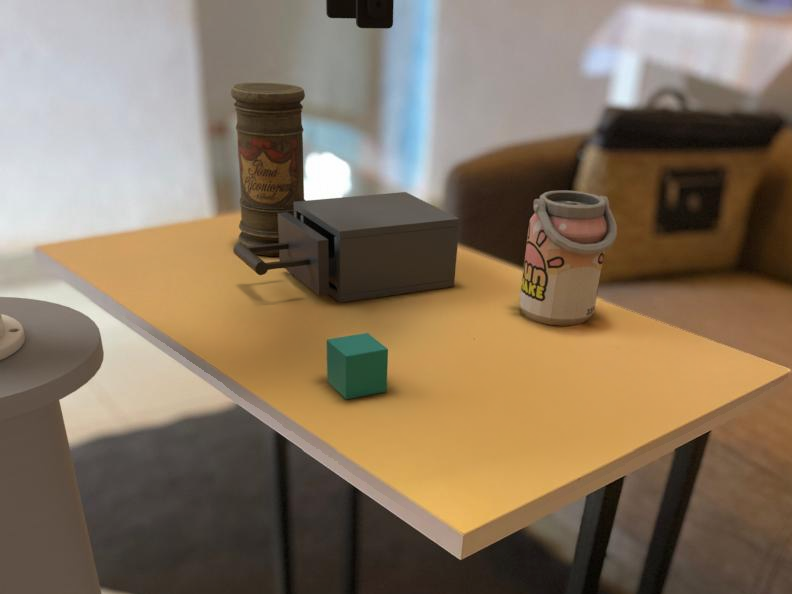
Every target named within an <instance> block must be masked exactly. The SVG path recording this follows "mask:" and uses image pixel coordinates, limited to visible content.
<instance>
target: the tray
mask: <svg viewBox="0 0 792 594" xmlns="http://www.w3.org/2000/svg"><path fill="white" fill-rule="evenodd" d="M278 233H279V243H276V244H267V245H258V246H248V247H246V246H244V245H243V244H241V243H239V242H238V243H235V244H234V246H233V254H234V255H235V256H236V257H238V259H240V260H241V261H242V262H243V263H244V264H246V266H247V267H249V268H250V269H251V270H252V271H253V272H255V273H256V274H257V275H259V276H263V275H265V274H267V273H268V271H269V270H278V269H285V270H286V271H288V272H289V273H290V274H291V275H292V276H293V277H295V278H296V279H298V280H299V281H300V282H302V284H304V285H305V286H306V287H307V288H308V289H310V290H311V291H312V292H314V293H315V294H316V295H318V296H326V295H330V294H329V282H330V283H332V284H333V285H334V286H336V287H337V237H336V236H334V235H333V234H331V233H330V232H328V231H327V230H325V229H324V228H322V227H321V226H319V225H318V224H316V223H315V222H313V221H311V220H310V219H308V218H307V217H305V216H304V215H302V214H301V221H300V220H298V219H297V218H295V217H294V216H292V215H291V214H289V213H288V212H283V213H278ZM274 250H279V255H280V256H279V260H278V261H269V262H265V261H264V260H263V259H262V258H260V257H259V256H258V254H254V253H256V252H265V251H274Z"/></svg>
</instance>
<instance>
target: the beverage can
mask: <svg viewBox="0 0 792 594" xmlns="http://www.w3.org/2000/svg"><path fill="white" fill-rule="evenodd" d="M608 198H609V197H607V196H606V195H596V194H594V193H590V192H584V191H579V190H578V191H577V190H565V189H564V190H550V191H546V192H544V193H542V194H540V195H539V198H535V199H534V200H533V205H532V206H533V211H534V213H533V215H532V216H531V217H530V219H529V222H528V230H527V237H526V245H525V246H526V247H525V254H524V262H523V271H522V277H521V286H520V293H519V301H518V302H519V303H518V304H519V305H518V306H519V308H520V310H521V311H522V312H523V314H524V315H525V316H526V317H527V318H529V319H530V320H532V321H535V322H537V323H541V324H545V325H550V326H559V327H560V326H562V327H563V326H566V327H567V326H576V325H580V324H582V323H584V322H586V321H587V320H588V319H590V317H591V316H592V315H593V314H594V312H595V311H596V310H595V309H596V305H597V298H598V292H599V286H600V282H601V275H602V270H603V265H604V259H605V253H606V251H607V250H609V249H611V248H612V246H613V245H614V243H615V241H616V240H617V237H618V236H617V235H618V234H617V233H618V232H617V231H618V225H617V222H616V219H615V217H614V214H613V213H612V210H611V208H610V201H609V199H608Z"/></svg>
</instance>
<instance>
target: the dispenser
mask: <svg viewBox="0 0 792 594" xmlns="http://www.w3.org/2000/svg"><path fill="white" fill-rule="evenodd" d="M293 204H294V217H295V218H297V219H298V220H300V221H301V214H302V215H304V216H305V217H307V218H308V219H310V220H311V221H313V222H315V223H316V224H318V225H319V226H321V227H322V228H324V229H325V230H327V231H328V232H330V233H331V234H333V235H334V236H336V237H337V287H336V286H334V285H333V284H332V283H330V282H329V294H328V295H329V296H331V297H332V298H333V299H335V300H336V301H337V302H338V303H349V302H355V301H362V300H368V299H376V298H382V297H390V296H397V295H403V294H404V295H405V294H410V293H419V292H425V291H431V290H432V291H433V290H439V289H444V288H452V287H455V282H456V279H455V278H456V269H457V259H458V258H457V257H458V246H459V232H460V231H459V230H460V222H461V221H460V220H461V219H460V218H459V217H457V216H455V215H453V214H451V213H449V212H447V211H445V210H443V209H441V208H439V207H437V206H434V205H433V204H432V203H429V202H426V201H425V200H423V199H421V198H419V197H416V196H415V195H414V194H413V195H412V193H408V192H407V191H400V192H389V193H388V192H387V193H378V194H366V195H355V196H344V197H331V198H320V199H309V200H305V201H296V202H293Z"/></svg>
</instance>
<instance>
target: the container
mask: <svg viewBox="0 0 792 594" xmlns="http://www.w3.org/2000/svg"><path fill="white" fill-rule="evenodd" d="M230 95H231V97H232V98H233V99H234V101H235V102H234V103H233V107H234V109H235V112H236V125H235V130H236V136H237V157H238V168H239V187H240V189H239V190H240V198H239V205H240V217H241V219H240V221H239V224H238V229H239V230H240V233H239V234H238V243H241V244H243V245H244V246H246V247H248V246H258V245H267V244H276V243H279V233H278V213H283V212H288V213H289V214H291V215H292V216H294V204H293V202H296V201H306V199H305V183H304V181H305V179H304V177H305V176H304V140H303V139H304V138H303V137H304V135H303V133H304V128H303V122H302V121H303V119H302V112H303V108H304V106H303V104H301V102H303V101H304V99H305V97H306V94H305V90H304V88H303V87H301V86H297V85H293V84H285V83H278V82H277V83H275V82H243V83H237V84H234V85H232V86H231V89H230ZM254 254H255V255H257V256H258V255H260V256H267V257H280V255H279V250H274V251H265V252H256V253H254Z"/></svg>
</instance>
